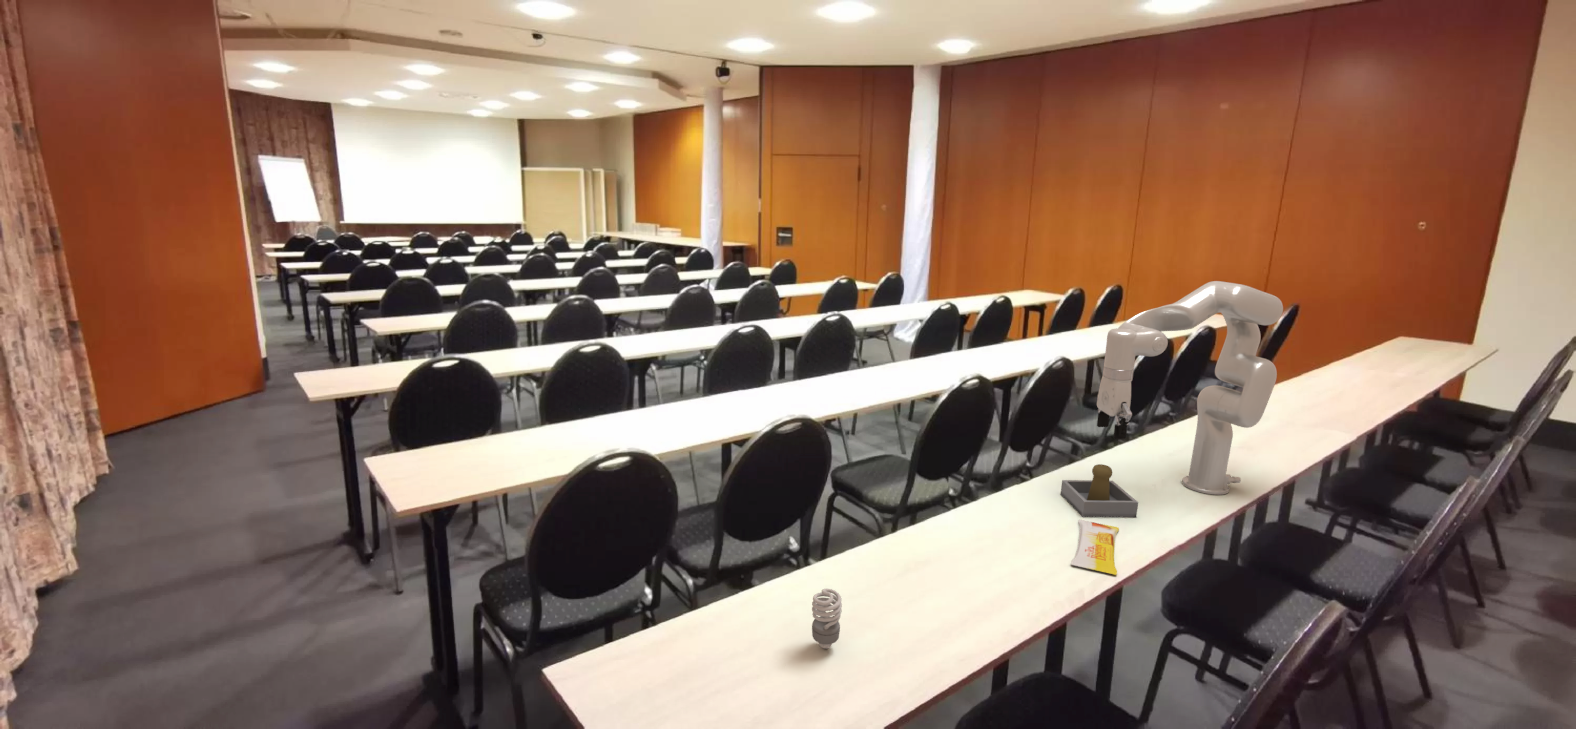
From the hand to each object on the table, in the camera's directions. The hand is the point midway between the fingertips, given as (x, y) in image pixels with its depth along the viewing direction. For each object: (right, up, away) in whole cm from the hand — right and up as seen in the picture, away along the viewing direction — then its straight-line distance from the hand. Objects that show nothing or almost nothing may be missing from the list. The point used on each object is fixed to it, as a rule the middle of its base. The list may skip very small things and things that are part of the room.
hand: (1110, 432), depth 201 cm
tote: (-3, -21, +2) cm, 21 cm away
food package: (-14, -27, -22) cm, 38 cm away
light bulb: (-84, -35, -64) cm, 111 cm away
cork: (-3, -20, +2) cm, 21 cm away
